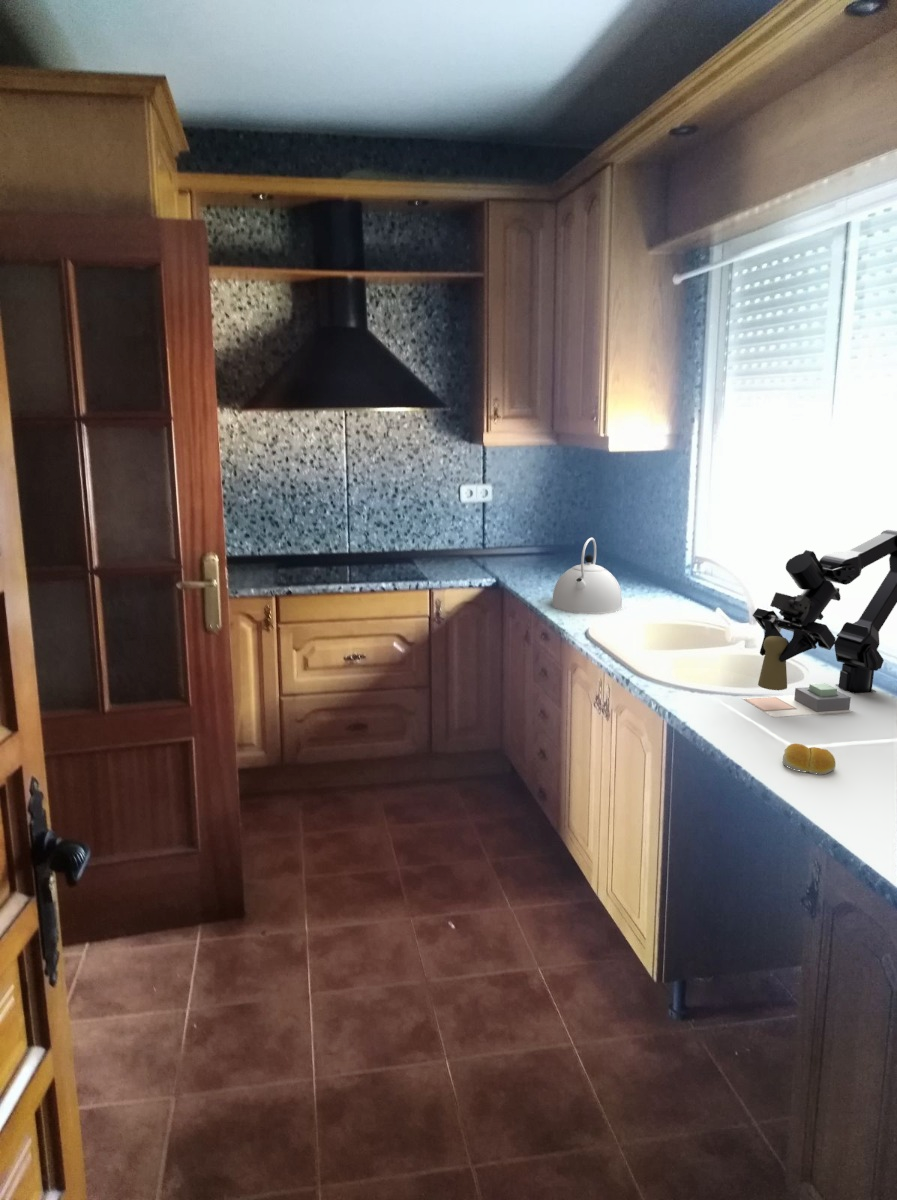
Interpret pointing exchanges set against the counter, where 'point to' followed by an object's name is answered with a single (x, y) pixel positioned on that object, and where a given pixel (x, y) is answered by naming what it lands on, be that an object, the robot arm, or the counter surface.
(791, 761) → the bread roll
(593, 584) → the kettle
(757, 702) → the picture board
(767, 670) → the cork
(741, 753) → the counter surface
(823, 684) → the button
